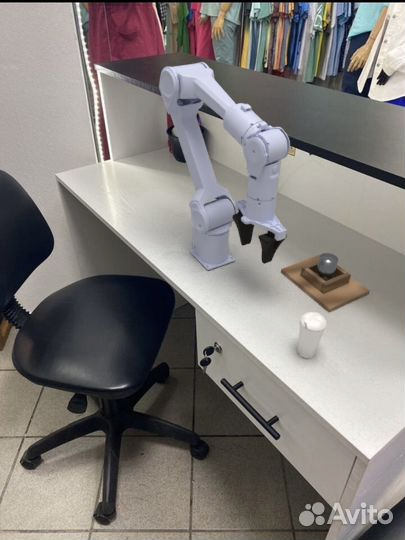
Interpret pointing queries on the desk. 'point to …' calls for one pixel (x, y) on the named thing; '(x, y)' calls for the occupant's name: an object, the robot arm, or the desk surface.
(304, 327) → the milkshake
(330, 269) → the pin
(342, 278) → the socket board
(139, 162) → the desk surface
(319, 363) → the desk surface
